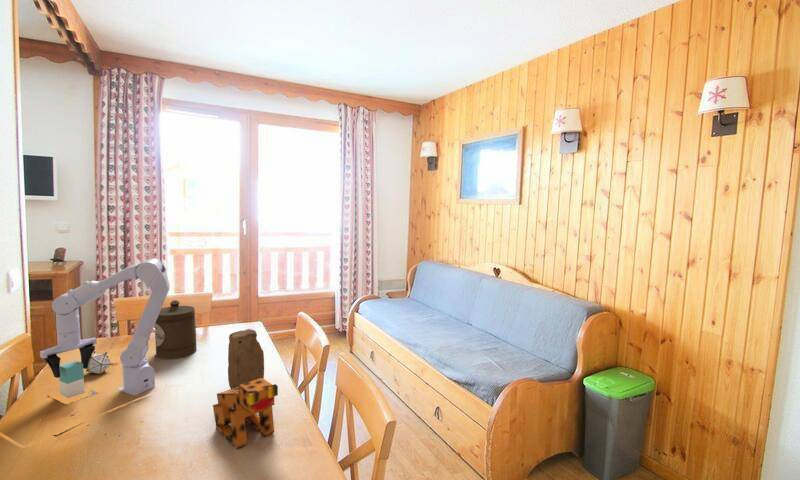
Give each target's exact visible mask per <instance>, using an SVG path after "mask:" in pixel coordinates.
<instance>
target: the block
mask: <svg viewBox="0 0 800 480" xmlns="http://www.w3.org/2000/svg"><path fill="white" fill-rule="evenodd" d="M257 337H258V334H257V331H256V330H254V329H250V328H248V329H247V328H246V329H245V330H238V331H234V332H232V333H230V334H229V335H228V342H229V343H228V349H227V350H228V352H227V354H228V356H227V360H228V361H227V362H228V363H227V364H228V367H227V378H228V380H227V381H228V386H229V389H233V388H236V387H239V385H241V384H244V383H247V382H251V381H254V380H257V379H260V378H263V379H265V354H264V350H263V348H262V346H261V343H260V342H259V341H258V339H257Z"/></svg>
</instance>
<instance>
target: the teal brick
mask: <svg viewBox="0 0 800 480" xmlns="http://www.w3.org/2000/svg"><path fill="white" fill-rule="evenodd" d="M59 368H60V377H59V378H58V379H59V381H61V382H64V383H66V384H68V383H71V382H74V381H77V380H80V379H83V378H85V376H84V375H85V374H84V368H83V363H81V361H77V360H72V361H70V362H66V363H63V364H60V367H59Z"/></svg>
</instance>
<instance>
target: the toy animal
mask: <svg viewBox="0 0 800 480" xmlns="http://www.w3.org/2000/svg"><path fill="white" fill-rule="evenodd" d="M278 387H279V386H278V384H276V383H274V384H272V383H271V382H270V381H268V380H266V379H265V378H264V379H263V378H260V379H257V380H254V381H251V382H247V383H244V384H241V385H239V387H236V388H233V389H231V388H229V389H227V390H225V391H222V392H218V393H216V399H217V403H215V404H213V405H212V408H213V415H214V422H215V429H216V430H217V431H218V433H220V435H222V437H224V438H225V440H227V442H228V443H232V447H234V448H236V449H240V448H243V447H245V446H246V445H248V441H247V440H248V439H247V432H246V431H247V430H246V429H247V428H246V422H247V423H248V424H249V425H251V427H253V428H254V429H255V430H256V431H258V432H260V435H262V436H265V437H266V436H269V435H272V434H274V433H275V425H274V424H275V423H274V413H273V406H275V397H277V396H278V395H279V391H278V390H279V388H278ZM257 414H258V415H257Z"/></svg>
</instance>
